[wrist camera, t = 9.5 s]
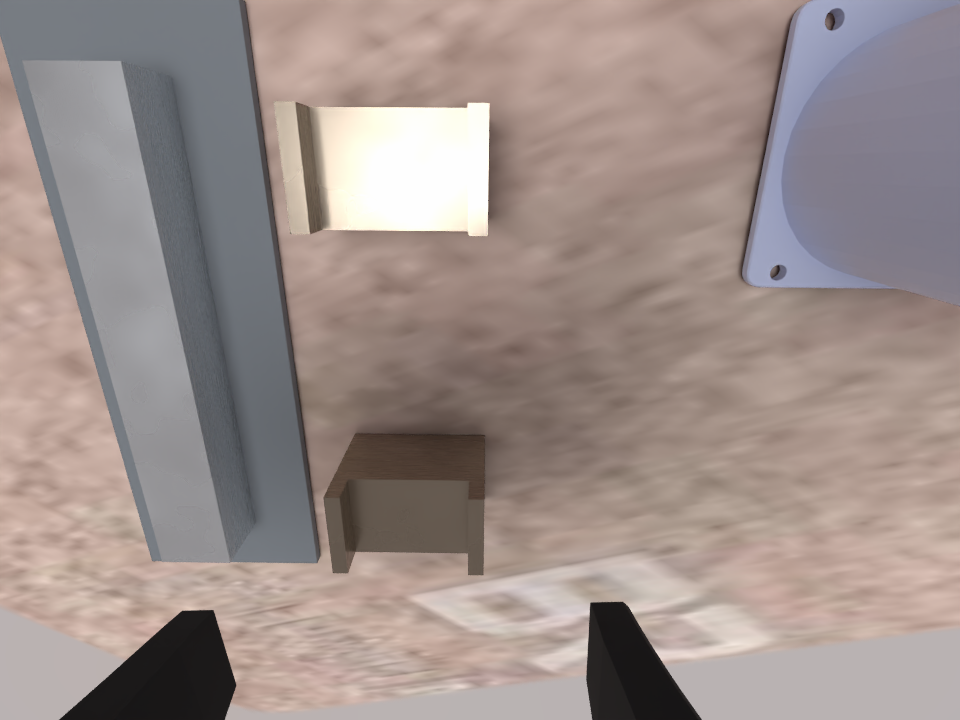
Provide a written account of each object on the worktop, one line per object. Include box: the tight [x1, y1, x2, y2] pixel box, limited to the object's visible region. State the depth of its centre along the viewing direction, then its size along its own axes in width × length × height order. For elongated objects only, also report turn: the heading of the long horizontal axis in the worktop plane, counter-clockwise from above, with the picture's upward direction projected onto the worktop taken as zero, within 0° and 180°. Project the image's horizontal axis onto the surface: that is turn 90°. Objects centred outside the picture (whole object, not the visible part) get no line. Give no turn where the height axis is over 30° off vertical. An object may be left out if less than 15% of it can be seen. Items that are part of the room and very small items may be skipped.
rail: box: [22, 60, 256, 563], centre depth 16 cm, size 2×16×2 cm, turn 0°
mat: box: [0, 0, 320, 563], centre depth 18 cm, size 7×20×1 cm, turn 0°
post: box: [324, 434, 485, 575], centre depth 18 cm, size 5×3×4 cm, turn 89°
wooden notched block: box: [274, 102, 489, 236], centre depth 14 cm, size 5×3×4 cm, turn 90°
